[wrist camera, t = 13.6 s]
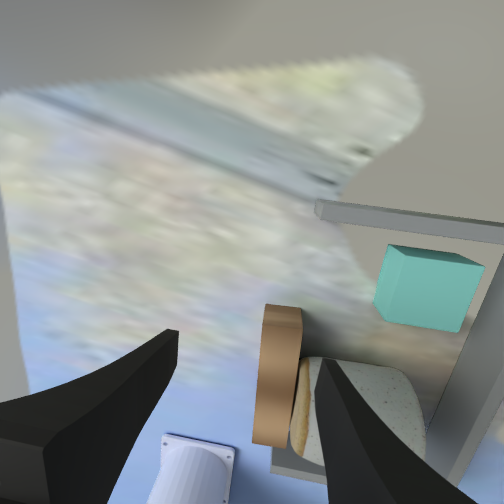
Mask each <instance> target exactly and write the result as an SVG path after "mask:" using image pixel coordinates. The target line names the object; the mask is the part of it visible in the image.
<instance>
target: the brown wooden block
mask: <svg viewBox="0 0 504 504" xmlns="http://www.w3.org/2000/svg"><path fill="white" fill-rule="evenodd" d="M302 334H303V324H302V316H301V308H297V307H288V306H280V305H271V304H266V305H265V311H264V318H263V324H262V335H261V347H260V358H259V369H258V380H257V391H256V403H255V414H254V425H253V436H252V443H254V444H260V445H266V446H272V447H277V448H283V449H286V446H287V439H288V432H289V425H290V418H291V411H292V404H293V397H294V390H295V383H296V376H297V369H298V362H299V355H300V348H301V341H302Z"/></svg>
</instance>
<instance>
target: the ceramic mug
mask: <svg viewBox="0 0 504 504" xmlns="http://www.w3.org/2000/svg"><path fill="white" fill-rule="evenodd" d="M322 358H325V357H305V358H303V359H301V360H300V361H299V362H298V369H297V376H296V383H295V390H294V397H293V404H292V411H291V418H290V440H291V445H292V447H293V449H294V451H295V452H296V453H297V455H299V456H301V457H303V458H305V459H307V460H309V461H311V462H313V463H316V464H318V465H321V466H325V464H324V459H323V453H322V448H321V442H320V437H319V431H318V425H317V419H316V413H315V398H314V390H315V386H316V382H317V378H318V374H319V370H320V366H321V362H322ZM328 359H332V358H328ZM334 360H336V361H337V363H338V364H339V366H340V367H341V368H342V370H343V371H344V373H345V374H346V376H347V377H348V378H349V380H350V381H351V383H352V384H353V385H354V387H355V388H356V389H357V391H358V392H359V393H360V395H361V396H362V397H363V398H364V400H365V401H366V402H367V403H368V405H369V406H370V407H371V408H372V409H373V411H374V412H375V413H376V414H377V415H378V416H379V418H380V419H381V420H382V421H383V422H384V423H385V424H386V425H387V426H388V427H389V428H390V429H391V430H392V431H393V432H394V434H395V435H396V436H397V437H398V438H399V439H400V440H402V441H403V442H404V443H405V444H406V445H407V446H408V447H409V448H410V449H411V450H412V451H413V452H414V453H415V454H417V455H418V456H419V457H420V458H421V459H422V460H423V461H424V462H425V454H426V432H425V426H424V420H423V414H422V409H421V406H420V403H419V401H418V398H417V395H416V393H415V390H414V388H413V386H412V384H411V382H410V381H409V379H408V378H407V377H406V375H405V374H404V373H403V372H401V371H400V370H398V369H395V368H391V367H382V366H376V365H371V364H365V363H358V362H350V361H343V360H337V359H334Z"/></svg>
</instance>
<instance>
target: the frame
mask: <svg viewBox="0 0 504 504" xmlns="http://www.w3.org/2000/svg"><path fill="white" fill-rule="evenodd" d="M314 213H315V214H316V215H317V216H318V218H319V219H320V220H325V221H332V222H340V223H347V224H354V225H362V226H370V227H377V228H384V229H392V230H399V231H406V232H414V233H421V234H428V235H436V236H443V237H450V238H459V239H465V240H473V241H480V242H488V243H495V244H502V245H504V223H499V222H491V221H483V220H476V219H468V218H460V217H453V216H444V215H437V214H429V213H422V212H414V211H405V210H398V209H390V208H383V207H375V206H368V205H360V204H352V203H344V202H337V201H329V200H321V199H317V200H316V205H315V210H314ZM503 398H504V254H503V256H502V259H501V261H500V263H499V266H498V268H497V270H496V273H495V275H494V278H493V280H492V282H491V284H490V287H489V289H488V291H487V294H486V296H485V298H484V300H483V303H482V305H481V308H480V310H479V312H478V314H477V317H476V319H475V321H474V324H473V326H472V328H471V331H470V333H469V335H468V338H467V340H466V342H465V345H464V347H463V349H462V352H461V354H460V356H459V359H458V361H457V363H456V365H455V368H454V370H453V372H452V375H451V377H450V379H449V382H448V384H447V386H446V389H445V391H444V393H443V396H442V398H441V400H440V403H439V405H438V407H437V410H436V412H435V414H434V417H433V419H432V421H431V423H430V426H429V428H428V430H427V433H426V454H425V462H426V463H427V464H428V465H429V466H430V467H431V468H433V469H434V470H435V471H436V472H437V473H439V474H440V475H441V476H442V477H444V478H445V479H446V480H447V481H448V482H450V483H451V484H452V485H453V486H455V487H456V488H457V486H458V484H459V482H460V480H461V478H462V476H463V475H464V473H465V471H466V469H467V467H468V465H469V463H470V461H471V459H472V457H473V455H474V454H475V452H476V450H477V448H478V446H479V444H480V442H481V440H482V438H483V436H484V434H485V432H486V431H487V429H488V427H489V425H490V423H491V421H492V419H493V417H494V415H495V413H496V411H497V410H498V408H499V406H500V404H501V402H502V400H503ZM270 473H273V474H278V475H283V476H287V477H292V478H297V479H302V480H306V481H311V482H316V483H320V484H325V485H327V478H326V471H325V466H321V465H318V464H316V463H313V462H311V461H309V460H307V459H305V458H303V457H301V456H299V455H297V453H296V452H295V451H294V449H293V447H292V445H291V440H290V431H289V432H288V439H287V446H286V449H283V448H277V447H272V446H271V464H270Z"/></svg>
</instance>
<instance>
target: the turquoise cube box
mask: <svg viewBox="0 0 504 504" xmlns="http://www.w3.org/2000/svg"><path fill="white" fill-rule="evenodd" d="M484 269H485V266H483V265H480V264H478V263H476V262H474V261H472V260H469V259H467V258H465V257H463V256H461V255H459V254H456V253H450V252H443V251H436V250H429V249H421V248H413V247H407V246H400V245H392V244H388V246H387V250H386V253H385V257H384V260H383V264H382V267H381V270H380V274H379V278H378V281H377V285H378V286H377V289H376V293H375V296H374V300H373V304H374V306H375V307H376V309H377V310H378V312H379V313H380V315H381V316H382V317H383V319H384V320H385V321H387V322H393V323H399V324H406V325H412V326H418V327H424V328H430V329H437V330H443V331H449V332H455V333H458V332H459V330H460V327H461V325H462V322H463V320H464V318H465V315H466V313H467V310H468V308H469V306H470V303H471V301H472V298H473V296H474V293H475V291H476V288H477V286H478V284H479V281H480V279H481V276H482V274H483V272H484Z"/></svg>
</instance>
